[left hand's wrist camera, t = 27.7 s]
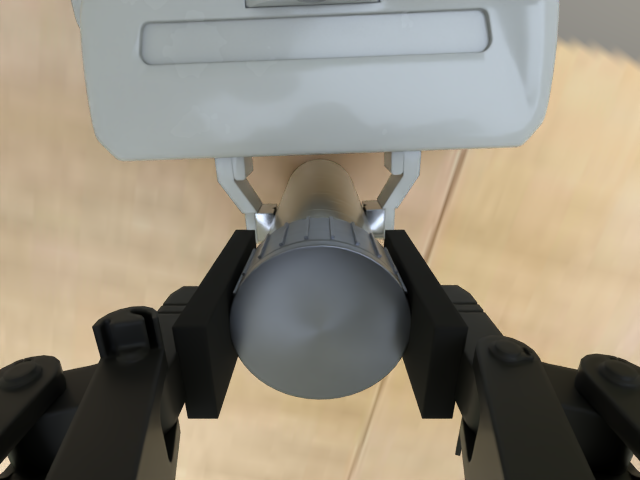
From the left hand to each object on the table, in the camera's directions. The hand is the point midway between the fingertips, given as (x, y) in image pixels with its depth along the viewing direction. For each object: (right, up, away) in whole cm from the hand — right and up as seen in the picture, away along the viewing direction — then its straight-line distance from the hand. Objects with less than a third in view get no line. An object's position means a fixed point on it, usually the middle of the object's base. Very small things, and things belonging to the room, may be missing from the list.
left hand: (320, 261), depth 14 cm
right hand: (0, +1, +5) cm, 5 cm away
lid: (0, -2, -4) cm, 4 cm away
